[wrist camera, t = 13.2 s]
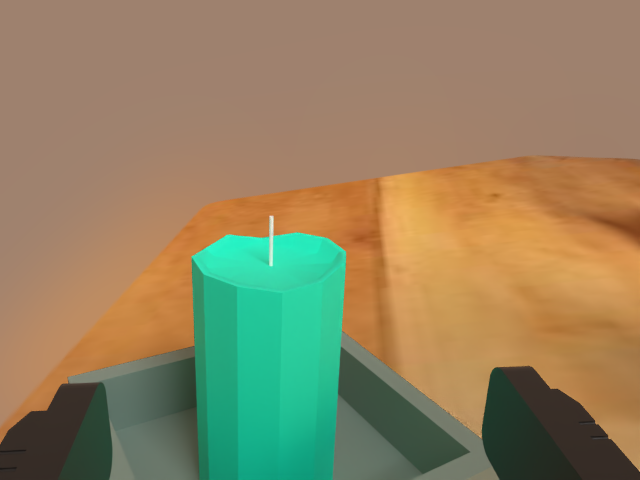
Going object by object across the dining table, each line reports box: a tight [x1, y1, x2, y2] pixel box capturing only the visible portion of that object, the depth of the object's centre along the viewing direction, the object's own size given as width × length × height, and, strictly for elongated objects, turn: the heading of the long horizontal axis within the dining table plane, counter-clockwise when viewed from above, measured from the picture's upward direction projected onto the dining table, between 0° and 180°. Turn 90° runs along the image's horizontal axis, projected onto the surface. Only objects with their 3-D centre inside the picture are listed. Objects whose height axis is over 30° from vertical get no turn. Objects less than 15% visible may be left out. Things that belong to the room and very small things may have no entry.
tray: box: [68, 331, 499, 480], centre depth 25 cm, size 14×14×4 cm
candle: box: [192, 216, 346, 480], centre depth 23 cm, size 6×6×12 cm
